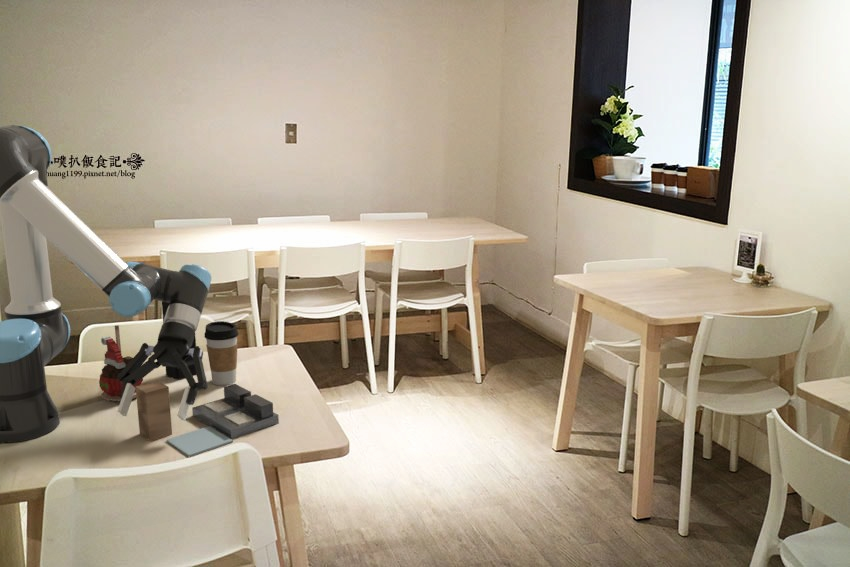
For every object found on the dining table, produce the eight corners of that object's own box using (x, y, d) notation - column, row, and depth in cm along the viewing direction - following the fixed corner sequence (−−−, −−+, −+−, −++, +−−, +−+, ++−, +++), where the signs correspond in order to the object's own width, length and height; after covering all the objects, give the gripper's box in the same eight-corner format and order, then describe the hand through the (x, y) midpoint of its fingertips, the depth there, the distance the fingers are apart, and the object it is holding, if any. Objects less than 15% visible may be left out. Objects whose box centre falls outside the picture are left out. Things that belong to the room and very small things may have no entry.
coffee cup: (227, 372, 203) (224, 318, 199) (247, 380, 198) (244, 324, 194) (200, 381, 197) (196, 325, 193) (220, 389, 191) (217, 332, 188)
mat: (166, 441, 163) (166, 439, 163) (209, 427, 170) (209, 425, 170) (189, 456, 156) (189, 455, 156) (232, 442, 163) (232, 440, 163)
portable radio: (189, 367, 207) (182, 277, 201) (203, 372, 204) (197, 280, 198) (164, 375, 201) (156, 283, 195) (178, 380, 197) (171, 286, 191)
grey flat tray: (192, 415, 176) (191, 395, 175) (238, 401, 184) (237, 382, 183) (231, 439, 164) (230, 417, 163) (278, 423, 172) (277, 402, 171)
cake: (153, 395, 188) (147, 324, 184) (118, 407, 180) (111, 334, 176) (127, 385, 194) (121, 317, 190) (93, 396, 187) (85, 326, 182)
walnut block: (139, 433, 166) (135, 386, 164) (161, 427, 170) (157, 380, 167) (150, 441, 163) (145, 392, 160) (172, 434, 166) (168, 386, 164)
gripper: (236, 338, 176) (212, 426, 165) (135, 332, 179) (105, 418, 169) (225, 322, 169) (199, 413, 158) (121, 317, 173) (89, 405, 162)
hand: (151, 416), depth 164 cm, fingers open, 13 cm apart
